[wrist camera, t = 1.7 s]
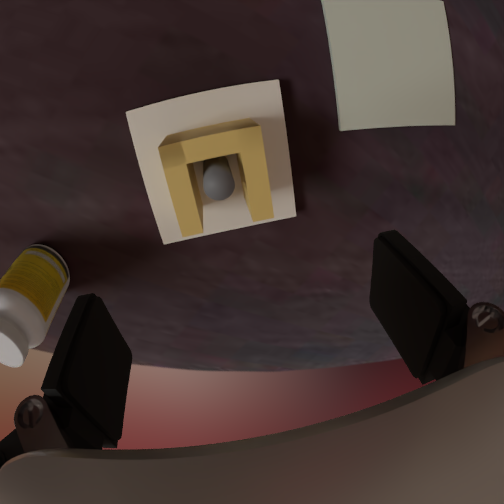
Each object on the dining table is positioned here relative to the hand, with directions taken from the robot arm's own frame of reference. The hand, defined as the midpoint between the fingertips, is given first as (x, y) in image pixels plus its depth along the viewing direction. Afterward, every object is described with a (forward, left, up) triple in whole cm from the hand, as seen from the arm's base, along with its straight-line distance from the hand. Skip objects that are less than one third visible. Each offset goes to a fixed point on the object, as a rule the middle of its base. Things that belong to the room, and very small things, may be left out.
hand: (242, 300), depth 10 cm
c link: (0, 0, -17) cm, 17 cm away
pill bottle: (+6, -20, -18) cm, 27 cm away
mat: (-8, +18, -18) cm, 26 cm away
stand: (0, 0, -18) cm, 18 cm away
